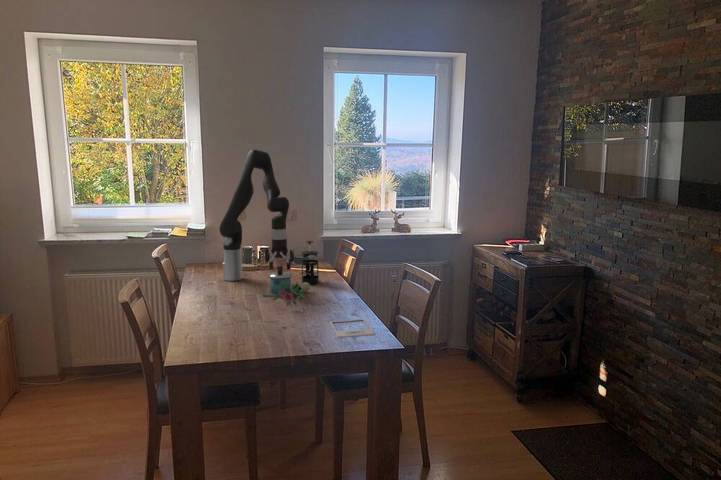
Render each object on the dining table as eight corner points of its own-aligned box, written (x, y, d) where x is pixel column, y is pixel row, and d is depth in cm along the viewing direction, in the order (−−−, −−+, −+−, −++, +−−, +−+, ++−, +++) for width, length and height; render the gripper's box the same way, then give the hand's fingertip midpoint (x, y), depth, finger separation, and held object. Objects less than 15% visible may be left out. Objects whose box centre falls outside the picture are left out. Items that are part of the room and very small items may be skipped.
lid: (265, 278, 268) (265, 268, 267) (273, 272, 279) (273, 263, 278) (287, 279, 266) (287, 269, 265) (294, 273, 277) (294, 264, 276)
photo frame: (337, 336, 212) (330, 321, 229) (338, 338, 212) (330, 323, 229) (374, 333, 215) (363, 318, 232) (374, 335, 215) (363, 321, 232)
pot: (262, 296, 268) (262, 278, 267) (272, 288, 282) (271, 272, 280) (289, 297, 266) (289, 280, 264) (298, 290, 279) (297, 273, 278)
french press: (321, 284, 290) (320, 242, 286) (304, 286, 287) (303, 243, 282) (315, 279, 301) (314, 238, 296) (299, 281, 297) (298, 239, 293)
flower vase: (311, 307, 276) (294, 313, 241) (289, 298, 278) (269, 303, 243) (319, 285, 276) (303, 287, 241) (296, 276, 278) (277, 278, 243)
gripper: (262, 238, 267) (263, 270, 269) (290, 239, 264) (291, 272, 267) (268, 235, 274) (269, 267, 277) (295, 236, 271) (296, 268, 274)
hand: (280, 269), depth 272 cm, fingers open, 8 cm apart
